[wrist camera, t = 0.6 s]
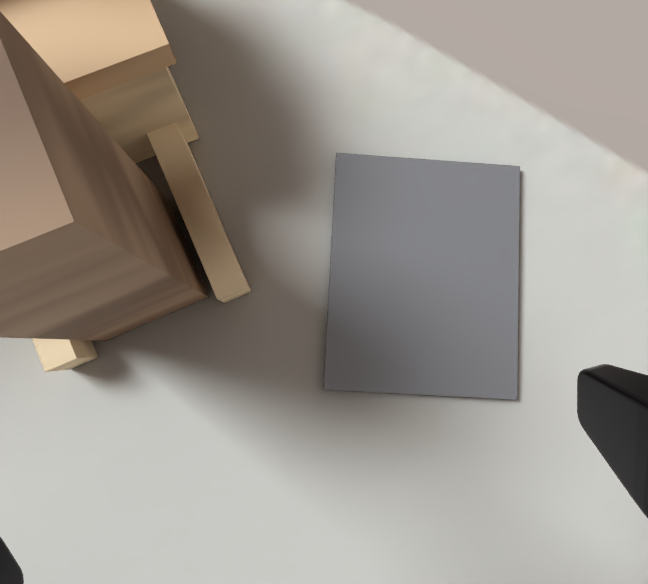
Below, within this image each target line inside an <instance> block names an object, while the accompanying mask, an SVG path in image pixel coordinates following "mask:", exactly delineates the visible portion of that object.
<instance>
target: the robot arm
mask: <svg viewBox="0 0 648 584" xmlns="http://www.w3.org/2000/svg"><path fill="white" fill-rule="evenodd" d="M577 413H578V418H579V421H580V423H581V425H582V427H583V429H584V430H585V432H586V433H587V435H588V436H589V437H590V439H591V440H592V442H593V443H594V445H595V446H596V447H597V449H598V450H599V452H600V453H601V454H602V456H603V457H604V459H605V460H606V462H607V463H608V464H609V466H610V467H611V469H612V470H613V471H614V473H615V474H616V476H617V477H618V479H619V480H620V481H621V483H622V484H623V486H624V487H625V488H626V490H627V491H628V493H629V494H630V496H631V497H632V498H633V500H634V501H635V502H636V504H637V505H638V506H639V508H640V509H641V510H642V512H643V513H644V514H645V515H646V517H647V518H648V375H644V374H641V373H637V372H634V371H630V370H626V369H623V368H619V367H615V366H612V365H608V364H602V365H598V366H595V367H591V368H587V369H584V370H582V371H581V372H580V373H579V375H578V380H577ZM23 583H24V580H23V574H22V570H21V568H20V566H19V565H18V563H17V562H16V560H15V559H14V557H13V555H12V554H11V552H10V551H9V549H8V548H7V546H6V544H5V543H4V541H3V540H2V538H1V537H0V584H23Z"/></svg>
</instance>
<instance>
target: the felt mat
mask: <svg viewBox="0 0 648 584" xmlns="http://www.w3.org/2000/svg"><path fill="white" fill-rule="evenodd" d="M519 195H520V166H510V165H496V164H483V163H469V162H455V161H441V160H427V159H414V158H400V157H386V156H372V155H358V154H345V153H337V154H336V169H335V187H334V206H333V224H332V242H331V261H330V279H329V297H328V316H327V334H326V352H325V370H324V390H340V391H360V392H379V393H398V394H417V395H436V396H455V397H475V398H494V399H513V400H517V371H518V283H519Z"/></svg>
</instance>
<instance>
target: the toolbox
mask: <svg viewBox="0 0 648 584" xmlns="http://www.w3.org/2000/svg"><path fill="white" fill-rule="evenodd" d="M0 12H1V13H2V14H3V15H4V16H5V17H6V18H7V19H8V21H9V22H10V23H11V24H12V25H13V26H14V27H15V28H16V30H17V31H18V32H19V33H20V34H21V35H22V36H23V37H24V39H25V40H26V41H27V42H28V43H29V44H30V45H31V46H32V48H33V49H34V50H35V51H36V52H37V53H38V54H39V56H40V57H41V58H42V59H43V60H44V61H45V62H46V63H47V65H48V66H49V67H50V68H51V69H52V70H53V71H54V72H55V74H56V75H57V76H58V77H59V78H60V79H61V80H62V81H63V83H64V84H65V85H66V86H67V87H68V88H69V89H70V90H71V92H72V93H73V94H74V95H75V96H76V97H77V98H78V99H79V101H80V102H81V103H82V104H83V105H84V106H85V107H86V108H87V110H88V111H89V112H90V113H91V114H92V115H93V116H94V117H95V119H96V120H97V121H98V122H99V123H100V124H101V125H102V126H103V128H104V129H105V130H106V131H107V132H108V133H109V134H110V135H111V137H112V138H113V139H114V140H115V141H116V142H117V143H118V144H119V146H120V147H121V148H122V149H123V150H124V151H125V152H126V153H127V155H128V156H129V157H130V158H131V159H132V160H133V161H134V162H135V164H136V163H138V162H141V161H143V160H146V159H148V158H151V157H153V156H157V159H158V161H159V163H160V166H161V168H162V170H163V173H164V175H165V177H166V180H167V182H168V185H169V187H170V189H171V192H172V194H173V196H174V199H175V201H176V203H177V206H178V208H179V211H180V213H181V215H182V218H183V220H184V222H185V225H186V227H187V229H188V232H189V234H190V237H191V239H192V241H193V244H194V246H195V248H196V251H197V253H198V255H199V258H200V260H201V263H202V265H203V267H204V270H205V272H206V274H207V277H208V279H209V281H210V284H211V286H212V289H213V291H214V293H215V296H216V298H217V299H218V300H220V301H222V302H224V303H226V302H229V301H231V300H233V299H236V298H238V297H240V296H243V295H245V294H247V293H250V292H251V290H250V287H249V285H248V283H247V280H246V278H245V276H244V273H243V271H242V269H241V266H240V264H239V262H238V259H237V257H236V255H235V252H234V250H233V248H232V245H231V243H230V241H229V238H228V236H227V234H226V231H225V229H224V227H223V224H222V222H221V220H220V217H219V215H218V213H217V210H216V208H215V206H214V203H213V201H212V199H211V197H210V194H209V192H208V190H207V187H206V185H205V183H204V180H203V178H202V176H201V173H200V171H199V169H198V166H197V164H196V162H195V159H194V157H193V155H192V152H191V150H190V148H189V145H188V143H189V142H191V141H194V140H197V139H199V136H198V134H197V131H196V129H195V127H194V124H193V122H192V120H191V117H190V115H189V113H188V111H187V108H186V106H185V104H184V101H183V99H182V97H181V94H180V92H179V90H178V87H177V85H176V83H175V80H174V78H173V76H172V74H171V71H170V69H169V67H168V66H171V65H174V64H176V63H177V61H176V59H175V56H174V54H173V52H172V49H171V47H170V45H169V42H168V40H167V38H166V36H165V33H164V31H163V29H162V26H161V24H160V22H159V19H158V17H157V15H156V13H155V10H154V8H153V6H152V3H151V1H150V0H0ZM32 340H33V342H34V345H35V347H36V350H37V353H38V355H39V358H40V360H41V363H42V366H43V368H44V371H45V372H48V371H58V370H68V369H72V368H74V367H77V366H79V365H81V364H84V363H86V362H88V361H91V360H93V359H95V358H98V355H97V352H96V350H95V347H94V345H93V342H92V340H66V339H37V338H32Z"/></svg>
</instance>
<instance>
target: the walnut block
mask: <svg viewBox="0 0 648 584" xmlns="http://www.w3.org/2000/svg"><path fill="white" fill-rule="evenodd" d="M208 297H209V296H208V294H207V291H206V289H205V287H204V284H203V282H202V279H201V277H200V275H199V272H198V270H197V268H196V265H195V263H194V260H193V258H192V256H191V253H190V251H189V249H188V246H187V244H186V242H185V239H184V237H183V234H182V232H181V230H180V227H179V225H178V223H177V220H176V218H175V215H174V213H173V211H172V208H171V206H170V204H169V201H168V200H167V198H166V197H165V196H164V195H163V194H162V193H161V192H160V191H159V189H158V188H157V187H156V186H155V185H154V184H153V183H152V182H151V180H150V179H149V178H148V177H147V176H146V175H145V174H144V173H143V171H142V170H141V169H140V168H139V167H138V166H137V165H136V164H135V162H134V161H133V160H132V159H131V158H130V157H129V156H128V155H127V153H126V152H125V151H124V150H123V149H122V148H121V147H120V146H119V144H118V143H117V142H116V141H115V140H114V139H113V138H112V137H111V135H110V134H109V133H108V132H107V131H106V130H105V129H104V128H103V126H102V125H101V124H100V123H99V122H98V121H97V120H96V119H95V117H94V116H93V115H92V114H91V113H90V112H89V111H88V110H87V108H86V107H85V106H84V105H83V104H82V103H81V102H80V101H79V99H78V98H77V97H76V96H75V95H74V94H73V93H72V92H71V90H70V89H69V88H68V87H67V86H66V85H65V84H64V83H63V81H62V80H61V79H60V78H59V77H58V76H57V75H56V74H55V72H54V71H53V70H52V69H51V68H50V67H49V66H48V65H47V63H46V62H45V61H44V60H43V59H42V58H41V57H40V56H39V54H38V53H37V52H36V51H35V50H34V49H33V48H32V46H31V45H30V44H29V43H28V42H27V41H26V40H25V39H24V37H23V36H22V35H21V34H20V33H19V32H18V31H17V30H16V28H15V27H14V26H13V25H12V24H11V23H10V22H9V21H8V19H7V18H6V17H5V16H4V15H3V14H2V13H1V12H0V337H9V338H37V339H66V340H95V341H107V340H109V339H111V338H114V337H116V336H119V335H121V334H123V333H126V332H128V331H130V330H133V329H135V328H137V327H140V326H142V325H144V324H147V323H149V322H151V321H154V320H156V319H158V318H161V317H163V316H166V315H168V314H170V313H173V312H175V311H177V310H180V309H182V308H184V307H187V306H189V305H191V304H194V303H196V302H198V301H201V300H203V299H205V298H208Z"/></svg>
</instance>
